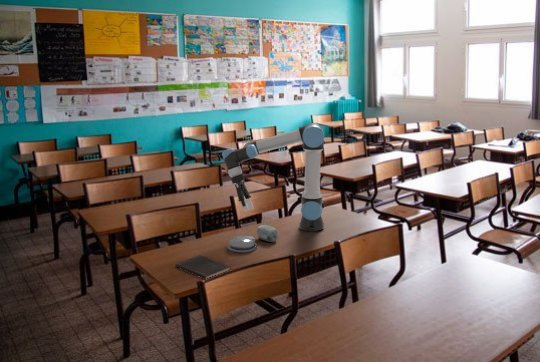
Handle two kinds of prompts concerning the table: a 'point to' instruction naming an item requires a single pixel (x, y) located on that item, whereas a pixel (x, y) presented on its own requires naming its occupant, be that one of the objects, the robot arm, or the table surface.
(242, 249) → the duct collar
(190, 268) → the hardcover book
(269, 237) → the grey rounded block
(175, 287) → the table surface
